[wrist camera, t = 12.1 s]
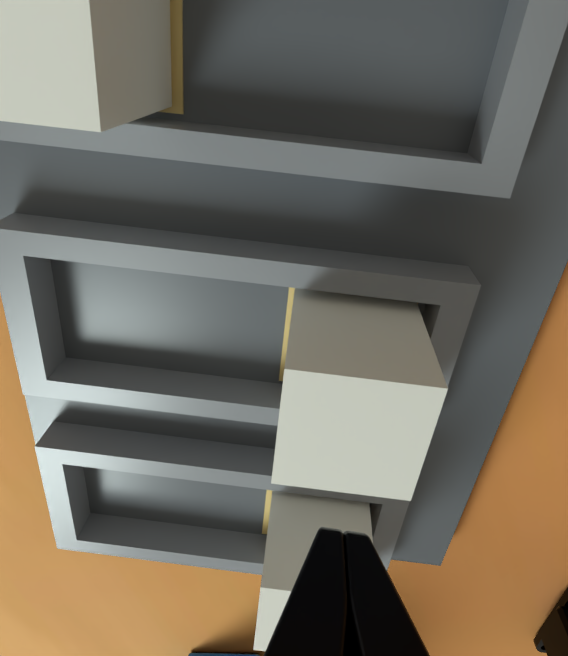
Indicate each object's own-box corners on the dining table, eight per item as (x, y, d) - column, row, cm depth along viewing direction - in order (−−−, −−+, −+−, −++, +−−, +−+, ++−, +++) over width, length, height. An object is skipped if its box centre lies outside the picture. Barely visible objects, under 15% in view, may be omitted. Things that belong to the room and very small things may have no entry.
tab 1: (168, -74, 12) (75, -148, 7) (171, 106, 14) (100, 132, 9) (5, -91, 12) (-181, -175, 7) (32, 90, 14) (-101, 109, 9)
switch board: (677, -70, 12) (761, -98, 10) (434, 546, 24) (446, 598, 22) (-64, -147, 12) (-153, -192, 10) (63, 499, 25) (35, 545, 22)
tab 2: (415, 297, 16) (448, 389, 12) (390, 393, 18) (410, 500, 14) (295, 283, 16) (284, 368, 12) (284, 380, 18) (271, 483, 14)
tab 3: (367, 486, 21) (378, 602, 16) (352, 546, 23) (358, 663, 18) (274, 474, 21) (260, 587, 16) (267, 535, 23) (253, 650, 18)
